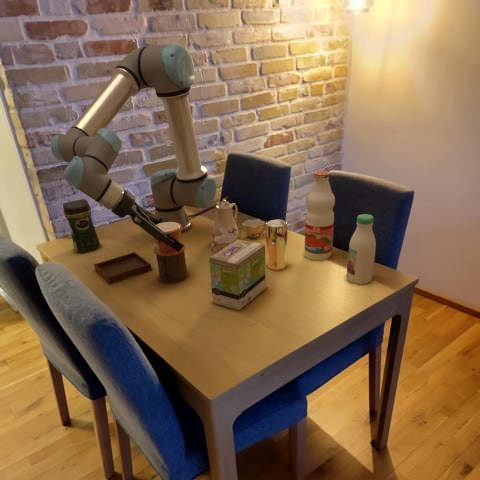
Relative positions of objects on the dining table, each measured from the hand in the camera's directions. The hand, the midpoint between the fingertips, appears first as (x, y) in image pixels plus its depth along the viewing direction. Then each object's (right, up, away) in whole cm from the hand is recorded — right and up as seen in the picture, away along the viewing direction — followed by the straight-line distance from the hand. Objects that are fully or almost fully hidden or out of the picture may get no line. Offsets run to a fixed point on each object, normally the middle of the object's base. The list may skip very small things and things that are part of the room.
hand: (178, 242), depth 138 cm
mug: (-3, -11, +4) cm, 12 cm away
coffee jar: (-39, +3, +30) cm, 49 cm away
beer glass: (+32, -7, +8) cm, 34 cm away
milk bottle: (+56, -12, -3) cm, 58 cm away
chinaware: (+17, +5, +27) cm, 32 cm away
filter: (-3, -3, +1) cm, 5 cm away
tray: (-21, -8, +12) cm, 25 cm away
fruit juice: (+47, -2, +13) cm, 48 cm away
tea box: (+20, -18, -8) cm, 27 cm away
